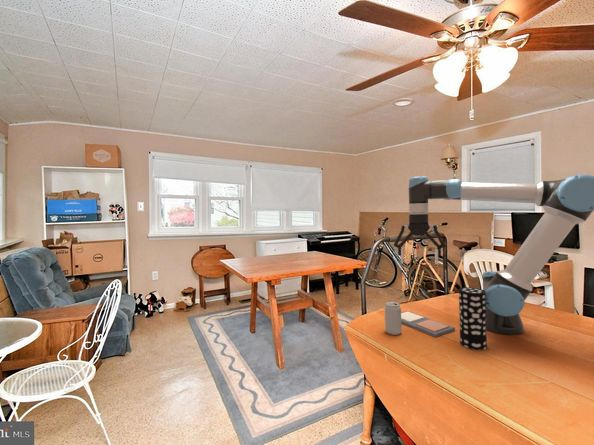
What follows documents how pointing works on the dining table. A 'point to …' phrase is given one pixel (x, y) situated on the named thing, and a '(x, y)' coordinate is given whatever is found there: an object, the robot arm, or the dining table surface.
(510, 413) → the dining table surface
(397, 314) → the beverage can
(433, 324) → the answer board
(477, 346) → the spotted tube
